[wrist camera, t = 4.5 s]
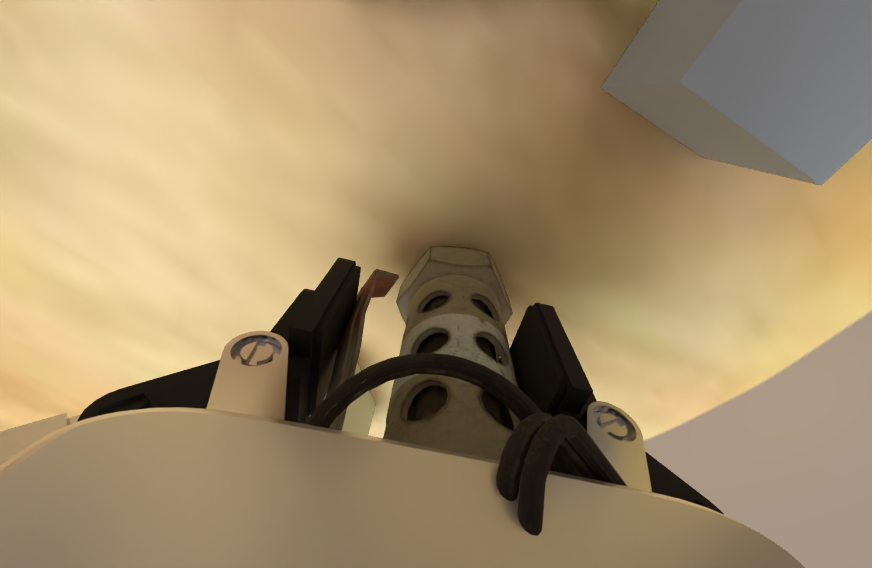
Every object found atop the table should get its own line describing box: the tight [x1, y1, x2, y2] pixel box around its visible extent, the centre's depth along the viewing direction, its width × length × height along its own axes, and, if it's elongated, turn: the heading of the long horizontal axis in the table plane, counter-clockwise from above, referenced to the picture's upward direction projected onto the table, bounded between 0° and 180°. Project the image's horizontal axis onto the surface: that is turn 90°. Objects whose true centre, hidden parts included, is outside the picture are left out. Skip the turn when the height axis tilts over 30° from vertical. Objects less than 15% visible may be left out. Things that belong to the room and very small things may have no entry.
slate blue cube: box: [601, 0, 872, 185], centre depth 10 cm, size 5×5×5 cm
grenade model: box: [305, 246, 628, 536], centre depth 9 cm, size 6×7×15 cm
